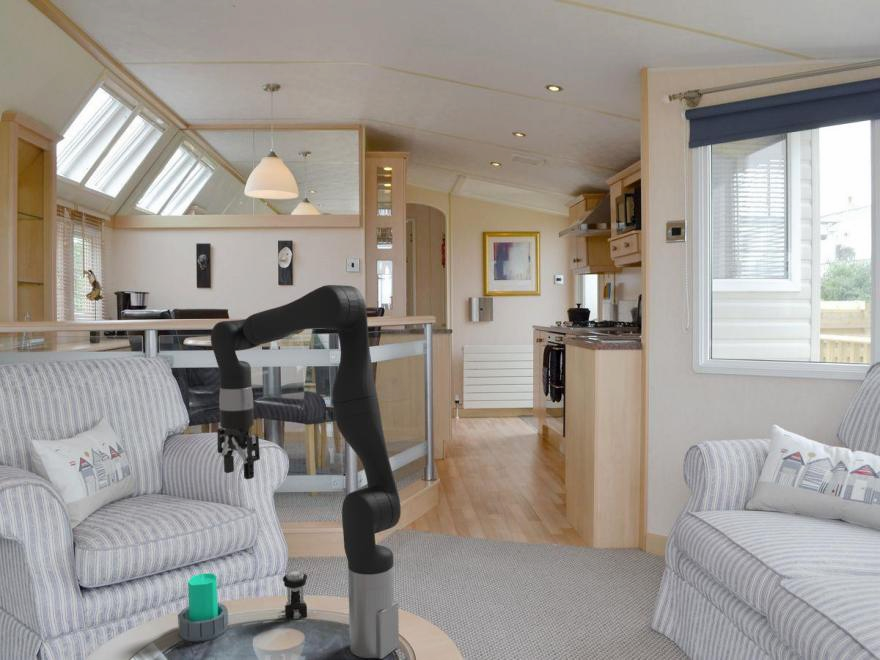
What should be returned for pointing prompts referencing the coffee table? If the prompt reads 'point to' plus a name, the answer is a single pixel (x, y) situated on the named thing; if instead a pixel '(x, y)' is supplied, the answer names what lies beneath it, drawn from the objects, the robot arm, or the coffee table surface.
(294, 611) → the push button
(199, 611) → the candle
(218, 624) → the candle dish
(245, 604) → the coffee table surface
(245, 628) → the coffee table surface
